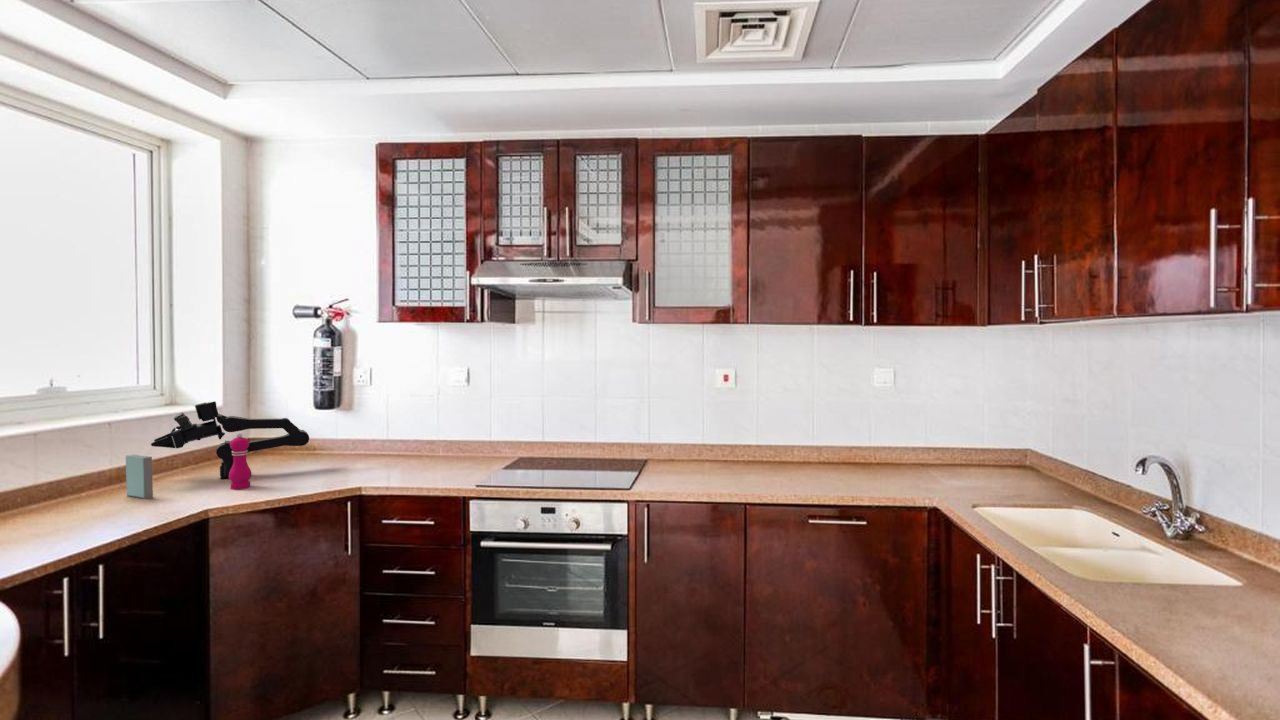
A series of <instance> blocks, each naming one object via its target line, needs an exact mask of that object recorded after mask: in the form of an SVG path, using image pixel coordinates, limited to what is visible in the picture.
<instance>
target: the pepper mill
mask: <svg viewBox="0 0 1280 720" xmlns="http://www.w3.org/2000/svg"><path fill="white" fill-rule="evenodd" d="M231 440H232V441H231ZM231 440H230V441H231V442H230V448H231V449H232V450H233V451H232V455H233V458H234V462H233V466H232V468H231V470H230V472H229V481H230V482H231V483H230V489H231V490H245V489H249V488H250V487H251V481H250V479H251V478H252V475H253V473H252V470H251V468H250V466H249V465H248V462H247V455H248V454H249V452H247V451H248V450H247V448H248V447H249V442H250V441H249V439H248V438H246V437H243V434H242V433H241V432H238V433H237V434H236V437H235V438H233V439H231Z"/></svg>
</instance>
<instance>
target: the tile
mask: <svg viewBox="0 0 1280 720" xmlns="http://www.w3.org/2000/svg"><path fill="white" fill-rule="evenodd" d="M125 476H126V477H125V478H126V496H127V497H131V496H132V497H131V498H138V499H146V500H147V499H151V498H153V497H154V493H153V492H154V489H153V488H154V487H153V485H154V484H153V483H154V482H153V457H152V456H149V455H148V456H147V455H140V454H129V455H125Z"/></svg>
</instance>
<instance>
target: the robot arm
mask: <svg viewBox="0 0 1280 720" xmlns="http://www.w3.org/2000/svg"><path fill="white" fill-rule="evenodd" d="M194 407H195V410H196V415H197V418H198V420H199V421H200V420H201V421H202V422H203V423H192V422H191V420H190V417H189V416H188V415H186V414H185V412H180V413H179V414H177V415H175V416H174V417H173V420H174V421H175V422H177V424H178V425H176V426H175V427H174V428H173V429H172V430H171V431H170V432H169V433H167V434H164V435H162V436H159V437H158V438H155V439H154V440H153V442H151V443H150V445H151V447H158V448H169V449H180V448H183V447H184V446H185V445H186V444H188V443H190V442H195V441H202V440H204V439H207V438H211V437H215V436H217V438H218V440H222V438H223V437H224V435H226V432H227V433H235V432H240V431H245V430H252V429H253V430H254V429H255V430H256V429H257V430H259V429H265V430H266V429H283V430H284V431H285V432H286V434H284V435H282V436H281V435H280V436H275V437H269V438H262V439H257V440H251V441H249V447H248V448H247V450H248V451H247V453H250V452H256V451H261V450H262V451H263V450H268V449H273V448H274V449H275V448H279V447H285V446H286V447H304V446H306V445H308V443H309V441H310V436H309V433H308V432H307V431H306V430H304V429H300V428H299V427H297V425H295V424H294V423H293V422H291V421H290V419H289V418H287V417H282V418H247V417H242V416H236V415H228V416H227V415H224V414H220V413H219V412H218V411H219V410H218V407H217V402H216V401H215V400H213V401H208V402H202V403H197V404H195V405H194ZM217 422H218V424H217ZM220 424H221V425H220ZM222 429H223V430H222ZM224 431H225V432H224ZM232 440H233V439H231V440H225V441H224V442H222V443H220V444H219V445H218V446H217V448H216V456H217V458H219V459H221V460H222V461H221V462H220V464H221V465H220V466H219V477H220V478H219V479H221V480H224V479H225V480H226V479H229V472H230V470H231V468H232V466H233V462H234V458H233V455H232V451H233V450H232V449H231V448H230V442H231V441H232ZM229 480H230V479H229Z"/></svg>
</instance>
